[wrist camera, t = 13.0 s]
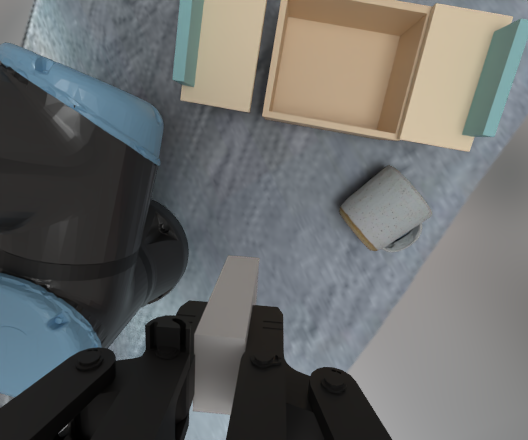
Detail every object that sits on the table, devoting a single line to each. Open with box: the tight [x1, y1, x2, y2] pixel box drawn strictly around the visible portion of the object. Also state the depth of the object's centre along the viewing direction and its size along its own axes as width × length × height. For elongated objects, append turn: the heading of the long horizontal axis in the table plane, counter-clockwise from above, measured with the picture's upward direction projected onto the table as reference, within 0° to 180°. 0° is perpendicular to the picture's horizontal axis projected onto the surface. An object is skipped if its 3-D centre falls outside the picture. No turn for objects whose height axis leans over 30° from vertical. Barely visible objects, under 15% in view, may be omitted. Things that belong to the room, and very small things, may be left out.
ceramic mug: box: [339, 165, 432, 252], centre depth 40 cm, size 11×8×8 cm
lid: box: [397, 3, 528, 152], centre depth 30 cm, size 7×12×4 cm, turn 170°
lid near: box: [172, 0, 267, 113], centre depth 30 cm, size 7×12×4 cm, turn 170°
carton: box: [262, 0, 432, 141], centre depth 36 cm, size 14×12×8 cm
